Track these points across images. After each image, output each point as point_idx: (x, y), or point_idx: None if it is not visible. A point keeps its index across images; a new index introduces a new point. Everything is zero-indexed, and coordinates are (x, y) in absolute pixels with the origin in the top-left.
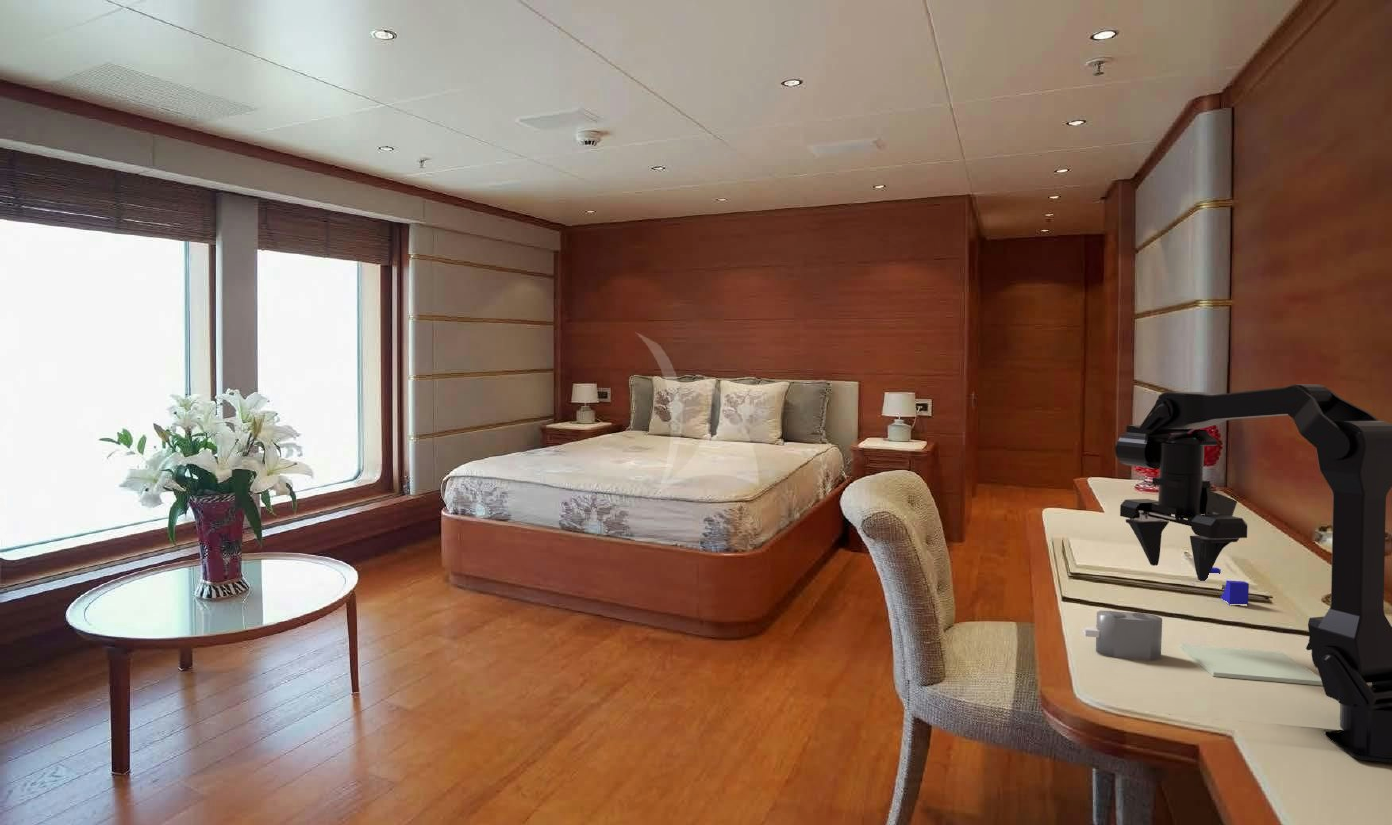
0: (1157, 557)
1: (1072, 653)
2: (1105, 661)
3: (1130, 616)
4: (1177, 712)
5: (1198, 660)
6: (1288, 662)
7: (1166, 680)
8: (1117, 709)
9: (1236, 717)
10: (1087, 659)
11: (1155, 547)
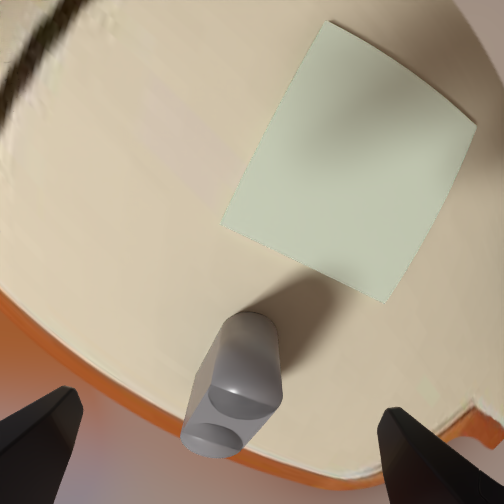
0: (58, 418)
1: None
2: None
3: (233, 422)
4: (424, 424)
5: (322, 272)
6: (389, 78)
7: (359, 384)
8: None
9: (466, 376)
10: None
11: (32, 461)
